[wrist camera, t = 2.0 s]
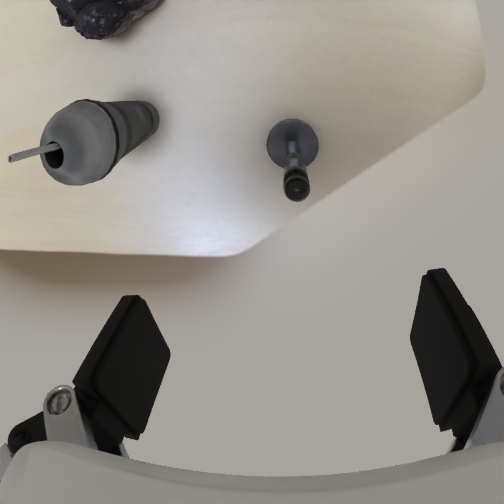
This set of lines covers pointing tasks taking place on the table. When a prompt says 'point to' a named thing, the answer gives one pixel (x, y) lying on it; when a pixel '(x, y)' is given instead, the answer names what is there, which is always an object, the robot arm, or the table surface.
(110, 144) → the beverage cup
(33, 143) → the table surface
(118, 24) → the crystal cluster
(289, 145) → the disc-capped black rod
